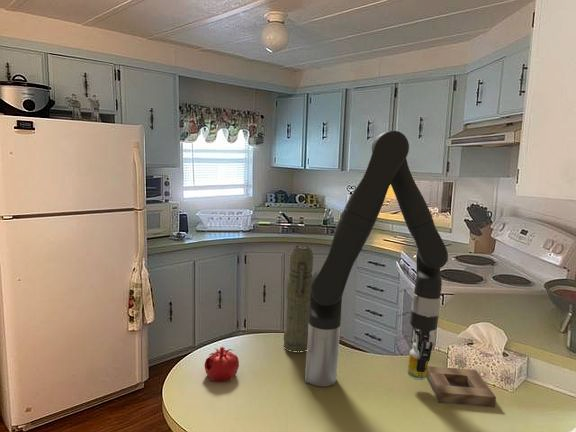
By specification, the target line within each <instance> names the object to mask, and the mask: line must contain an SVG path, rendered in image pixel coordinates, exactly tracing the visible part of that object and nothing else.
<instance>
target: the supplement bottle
mask: <svg viewBox="0 0 576 432" xmlns="http://www.w3.org/2000/svg"><path fill="white" fill-rule="evenodd" d="M419 347H420V348H421V347H422V346H419ZM423 355H425V354H423ZM417 360H418V351H417V350H416V342H414V343H413V348H411V349H410V351H409V357H408V365H407V375H408V376H409V377H410V378H412V379H413V380H418V381H424V380H425V379H427V378H426V375H427V367H428V366H429V361H426V365H425V371H424V372H418V371H417V370H416V367H417Z"/></svg>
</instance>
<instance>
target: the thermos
mask: <svg viewBox="0 0 576 432" xmlns="http://www.w3.org/2000/svg"><path fill="white" fill-rule="evenodd" d="M289 256H290V257H289V260H290V261H289V273H288V274H289V276H288V278H287V282H286V292H285V293H286V294H285V295H286V300H287V301H286V302H287V304H286V305H287V306H286V318H285V322H286V323H285V325H284V330H283V348H284V347H285V348H286V349H288V350H291V351H297V352H298V351H299V352H300V351H305V350H307V340H308V325H309V309H310V296H311V281H312V277H313V274H312V272H313V269H314V254H313V250H312V248H311V247H310V246H307V245H296V246H294V247H293V248H292V250H291V252H290V255H289ZM285 348H284V349H285ZM286 349H285V350H286Z"/></svg>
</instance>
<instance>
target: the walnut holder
mask: <svg viewBox="0 0 576 432" xmlns="http://www.w3.org/2000/svg"><path fill="white" fill-rule="evenodd" d="M425 379H427V381H428V383H429V385H430V387H431V390H432V391H433V394H434V396H435V398H436V400H437V402H438V403H441V404H453V405H462V406H463V405H464V406H478V407H486V408H495V406H496V399H497V397H496V395H495V393H494V392H493V391H492V390H491V389H490V387H489V386H488V384H487V383H486V381H485V380H484V379H483V378H482V376H481V375H480V374H479V372H478V371H477V370H476V369H471V368H470V369H469V368H456V367H446V366H445V367H442V366H431V365H428V367H427V375H426V378H425Z"/></svg>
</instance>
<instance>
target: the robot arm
mask: <svg viewBox="0 0 576 432" xmlns="http://www.w3.org/2000/svg"><path fill="white" fill-rule="evenodd" d="M409 151H410V144H409V140H408V138H407V137H406V135H405V134H404V133H403V132H401V131H398V130H386V131H384V132H381V133H379V134H378V135H377V136H376V137H375V139H374V140H373V142H372V146H371V152H372V153H371V156H370V159H369V162H368V164H367V167H366V170H365V173H364V174H363V177H362V178H361V180H360V181H359V183H358V185H357V186H356V187H355V189H354V190H353V192H352V194H351V195H350V197H349V198H348V201H347V203H346V204H345V207H344V209H343V211H342V213H341V215H340V217H339V220H338V223H337V225H336V227H335V228H336V229H335V231H334V234H333V239H332V241H331V246H330V249H329V252H328V255H327V257H326V259H325V260H324V263H323V265H322V266H321V268H319V269H317V270H316V271H315V272H314V273H313V274H312V281H311V296H310V309H309V325H308V340H307V351H306V352H305V353H306V354H305V355H306V357H305V369H304V383H306V384H311V385H312V386H317V387H321V388H322V387H330V386H332V385H335V384H336V382H337V376H338V375H337V374H338V373H337V372H338V363H339V361H338V360H339V349H340V348H339V346H340V334H341V322H342V321H341V320H342V300H343V295H344V291H345V288H346V285H347V282H348V279H349V277H350V273H351V271H352V268H353V267H354V264H355V262H356V260H357V258H358V257H359V255H360V253H361V252H362V249H363V247H364V246H365V244H366V241H367V240H368V238H369V236H370V235H371V232H372V230H373V228H374V226H375V224H376V222H377V219H378V218H379V215H380V211H381V210H382V207H383V204H384V202H385V198H386V196H387V193H388V190H389V188H390V186H391V188H392V191H393V193H394V196H395V199H396V200H397V203H398V206H399V209H400V212H401V214H402V217H403V219H404V222H405V224H406V227H407V230H408V232H409V233H410V235H411V236H412V237H413V239H414V242H415V244H416V247H417V251H416V278H415V284H414V291H413V297H412V299H411V300H412V302H411V308H410V309H411V310H410V316H409V325H410V326H412V327H411V339H410V340H411V341H410V343H411V344H412V345H411V349H413V343H414V342H416V350H417V351H418V360H417V367H416V370H417V371H418V372H424V371H425V365H426V361H428V362H430V360H431V359H430V358H431V355H432V351H433V346H434V344H433V343H434V342H433V341H431V340H432V339H431V334H430V332H433V331H435V330H437V328H438V324H439V314H440V307H441V295H442V294H441V293H442V285H443V284H442V282H443V281H442V277H441V268H443V267H444V266H445V265H446V264H447V262H448V259H449V253H448V249H447V247H446V245H445V242H444V240H443V239H442V236H441V235H440V233H439V231H438V229H437V227H436V224H435V221H434V218H433V216H432V214H431V212H430V209H429V207H428V204H427V202H426V200H425V198H424V195H422V192H421V190H420V189H419V188H418V185H417V183H416V182H415V180H414V177H413V175H412V172H411V170H410V167H409V164H408V161H407V157H408V154H409ZM419 346H422V347H421V348H420V347H419ZM423 354H425V355H423Z"/></svg>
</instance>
